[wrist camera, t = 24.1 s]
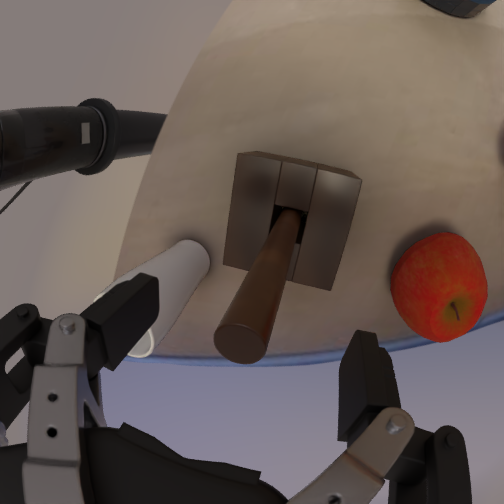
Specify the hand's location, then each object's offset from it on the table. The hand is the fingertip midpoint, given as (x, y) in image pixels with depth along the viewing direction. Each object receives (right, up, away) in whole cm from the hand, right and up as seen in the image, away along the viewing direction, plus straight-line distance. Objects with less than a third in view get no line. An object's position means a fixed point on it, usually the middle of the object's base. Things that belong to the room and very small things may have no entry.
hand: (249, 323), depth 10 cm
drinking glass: (-7, +2, +24) cm, 25 cm away
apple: (+20, +1, +17) cm, 27 cm away
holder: (+5, +7, +18) cm, 20 cm away
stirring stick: (+5, +8, +18) cm, 20 cm away
